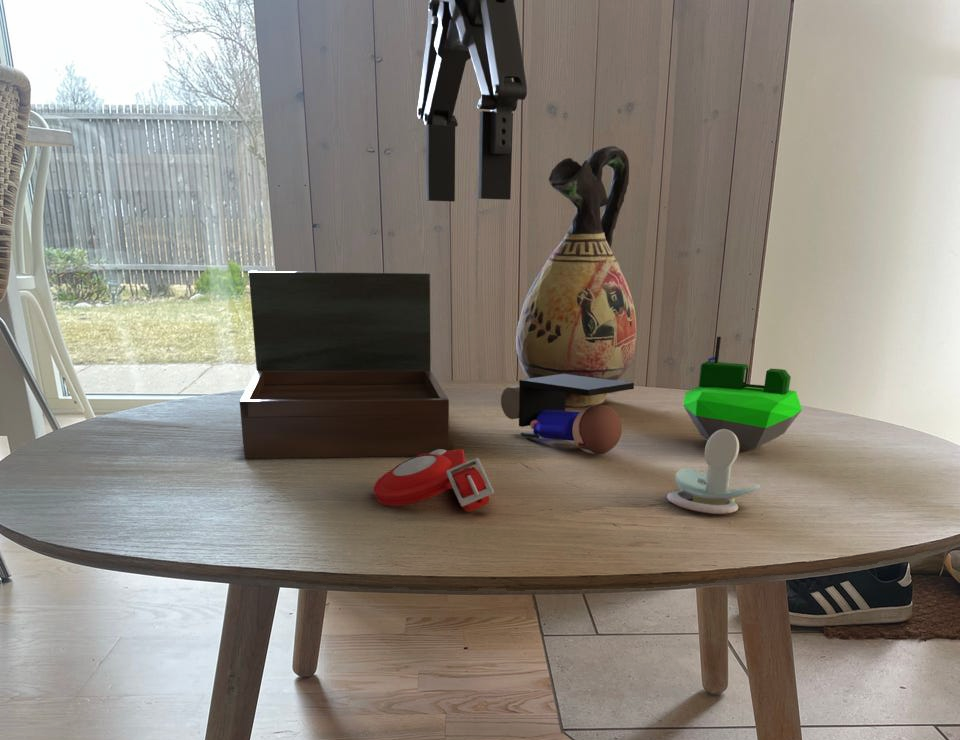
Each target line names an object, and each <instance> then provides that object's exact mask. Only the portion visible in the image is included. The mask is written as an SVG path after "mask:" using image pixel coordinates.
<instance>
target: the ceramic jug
mask: <svg viewBox="0 0 960 740" xmlns="http://www.w3.org/2000/svg"><path fill="white" fill-rule="evenodd" d="M604 167H608V168H611V176H612V177H611V184H610V188H609V191H608V194H607V192H606V191H607V190H606V188H605V184H604V182H603V180H602V179H603V168H604ZM629 181H630V161H629V158H628V155H627V154H626V152H625V151H624V150H623V149H621V148H619V147H618V146H615V145H611V146H605V147H602V148H599V149H596V150H594V151H593V152H592V153H591V155H590V156H589V157H588V158H587V159H585V160H584V162H583V163H582V165H581V164H580V163H579V162H578V161H576V160H573V158H571V157H567V158H564V159H562V160H561V161H559V162H558V163H557V164H556V165H555V166H554V167H553V169H552V170H551V172H550V174H549V177H548V183H549V186H550V187H551V188H552V189H554V190H555V191H556V192H558V193H559V194H561V195H562V196H564V197H565V198H566V199H568V200H569V201H570V202H571V203H572V204H573V205H574V207H575V214H574V217H573V219H572V222H571V225H570V227H569V228H568V230H567V231H566V233H565V236H564V237H563V239H562V240H561V241H560V243H559V244H558V245H556V247H555V248H554V250H553V251H552V252H551V254H550V255H549V257H548V259H547V260H546V262H545V263H544V265H543V267H542V268H541V270H540V271H539V273H538V275H537V276H536V277H535V279H534V281H533V283H532V284H531V286H530V288H529V290H528V292H527V294H526V296H525V299H524V302H523V305H522V307H521V311H520V315H519V319H518V322H517V327H516V334H515V349H516V353H517V358H518V361H519V365H520V366H521V368H522V371H523V373H524V374H525V376H526V379H529V378H536V377H543V376H550V375H558V374H569V375H576V376H584V377H592V378H600V379H608V380H616V381H619V379H620V378H621V377H622V375H623V374H624V373H625V372H627V370H628V368H629V367H630V365H631V363H632V361H633V359H634V355H635V352H636V346H637V338H638V337H637V335H638V333H637V317H636V310H635V304H634V299H633V298H632V294H631V291H630V288H629V285H628V283H627V281H626V279H625V276H624V273H623V271H622V269H621V267H620V264H619V262H618V260H617V258H616V257H615V256H616V255H614V252H613V251H612V243H613V234H614V230H615V229H616V227H617V222H618V218H619V216H620V213H621V212H620V211H621V209H622V206H623V204H624V202H625V196H626V194H627V190H628V186H629ZM602 207H603V210H602V211H603V212H602V214H601V208H602ZM608 394H609V393H605V394H598V395H592V396H585V395H578V394H571V393H566V406H565V407H573V408H574V407H575V408H578V407H579V408H580V407H589V406H592V405H602V404H603V403H604V402H605V399H606V398H607V396H608Z"/></svg>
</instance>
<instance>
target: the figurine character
mask: <svg viewBox="0 0 960 740" xmlns="http://www.w3.org/2000/svg"><path fill="white" fill-rule="evenodd" d="M518 382H519V385H517V386H509V387H508V386H507V387H506V388H505V389H503V391H502V393H501V397H500V405H501V409H502V411H503V414H504V415H505V416H506V418H508V419H510V420H516V419H518V427H522V428H524V427H529V426H530V428H531V430H532V432H527V431H521V432H520V435H521V437H522V438H531V439H539V438H540V437H541V438H544V439H550V440H551V439H552V440H560V441H570V442H575V444H576V446H577V447H578V448H579V449H580V450H581V451H583V452H584V453H586V454H590V455H603V454H605V453H608V452H609V451H611V450H613V449H614V448H615V447H616V446H617V445H618V443H619V442H620V440H621V437H622V433H623V432H622V431H623V424H622V420H621V418H620V416H619V415H618V413H617V412H616V411H615V410H614V409H612V408H611V407H610V406H607V405H603V404H598V405H588V406H586V407H585V408H583V409H582V410H581V411H572V410H566V407H567V406H566V393H571V394H578V395H585V396H592V395H598V394H605V393H608V394H611V393H617V392H622V391H629V390H634V389H635V383H634V382H630V381H622V380H617V381H616V380H608V379H600V378H592V377H584V376H576V375H569V374H558V375H550V376H543V377H536V378H529V379H528V378H523V379H519V381H518Z"/></svg>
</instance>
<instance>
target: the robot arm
mask: <svg viewBox="0 0 960 740" xmlns="http://www.w3.org/2000/svg"><path fill="white" fill-rule="evenodd" d="M517 19H518V18H517V15H516V7H515V0H428V4H427V32H426V38H425V46H424V47H425V48H424V56H423V63H422V69H421V70H422V71H421V78H420V79H421V80H420V87H419V95H418V103H417V109H416V115H417V118H418V119H419V120H423V123H424V125H425V149H426V150H425V154H426V155H425V169H426V170H425V182H426V183H425V186H426V187H425V192H426V193H425V194H426V195H425V196H426V197H425V199H426V200H425V201H427V202H455V201H456V127H458V125H459V123H458V120H457V118H456V115H454V112H455V108H456V105H457V100H458V96H459V93H460V92H459V91H460V88H461V85H462V80H463V76H464V72H465V68H466V64H467V61H468V60H471V62H472V64H473V68H474V72H475V75H476V79H477V82H478V86H479V91H480V93H481V94H480V97H479V99H478V102H477V105H476V108H477V109H478V110H482V111H479V123H478V124H479V125H478V126H479V127H478V183H477V184H478V185H477V199H478V200H507V201H508V200H509V201H510V200H511V197H512V196H511V195H512V193H511V192H512V165H513V164H512V160H513V159H512V158H513V131H514V130H513V128H514V127H513V126H514V112H515V111H516V110H517V107H518V101H519V100H520V101H522V100H523V101H525V100H526V98H527V96H528V84H527V79H526V73H525V66H524V59H523V53H522V46H521V39H520V33H519V32H520V31H519V27H518V20H517Z"/></svg>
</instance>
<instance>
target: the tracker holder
mask: <svg viewBox="0 0 960 740" xmlns="http://www.w3.org/2000/svg"><path fill="white" fill-rule="evenodd" d="M475 465H476V467H477V468H476V467H475ZM448 490H453V492H454V494H455V496H456V498H457V500H458V503H459V505H460V506H461V508H462V509H463V510H464V511H465V512H468V513H469V512H472V511H475V510H477V509H479V508H482V507H484V506H486V505H489V503H490V496H491V495H493V494H494V493H495V492H494V489H493V486H492V484H491V482H490V480H489V477H488V476H487V474H486V472H485V470H484V467H483V465H482V463H481V461H480V459H479V457H475V458H473V459H470V460H467V461H466V456H465V451H464V449H463V448H459V449H457V448H456V449H451V450H450V449H449V451H446V450H443V449H438V450H435V451H432V452H431V453H425V454H420V455H418V456H412V457H411V458H409V459H405V460H404V461H402V462H401V463H398V465H396V466H394V467H393V468H392V469H390V470H389V471H387V472H385V473H384V474H382V475H381V476H380V477H379V478H378V479H377V480H376V482H375V483H374V485H373V493H374V497H375V499H376V501H377V502H378V503H380V504H382V505H383V506H390V507H392V506H393V507H396V506H405V505H406V506H407V505H412V504H415V503H419V502H423V501H425V500H428V499H431V498H434V497H436V496H437V495H439V494H440V495H441V494H442V493H444V492H446V491H448Z"/></svg>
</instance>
